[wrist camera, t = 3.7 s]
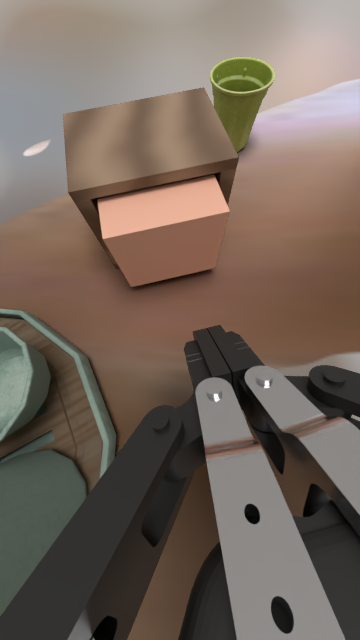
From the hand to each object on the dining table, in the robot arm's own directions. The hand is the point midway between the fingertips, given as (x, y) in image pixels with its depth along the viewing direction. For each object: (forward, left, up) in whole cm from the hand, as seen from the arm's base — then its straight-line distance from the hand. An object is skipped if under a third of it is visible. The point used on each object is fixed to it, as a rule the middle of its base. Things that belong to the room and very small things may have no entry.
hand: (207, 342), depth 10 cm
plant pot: (-17, -38, -14) cm, 44 cm away
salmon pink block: (0, -17, -12) cm, 21 cm away
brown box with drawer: (0, -22, -14) cm, 26 cm away
